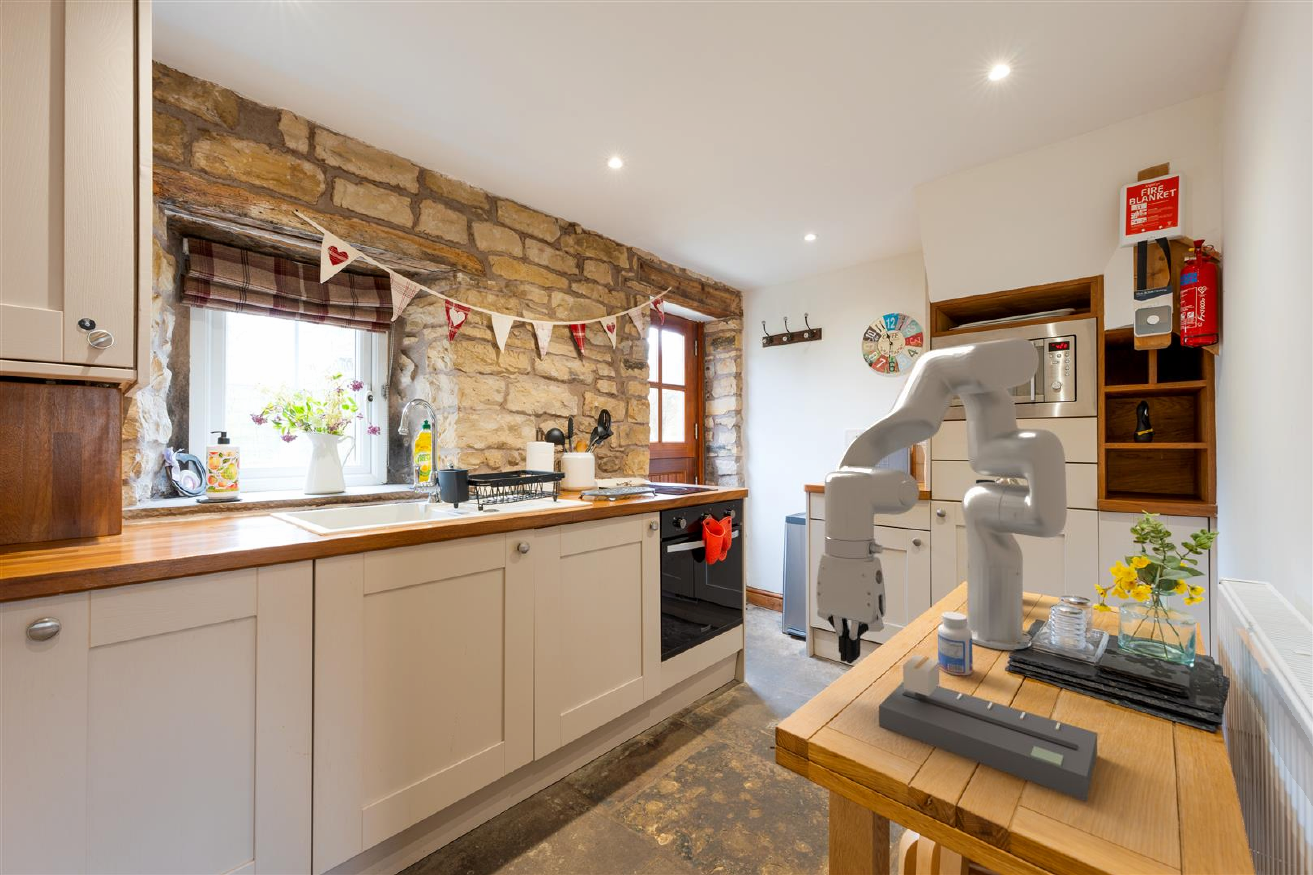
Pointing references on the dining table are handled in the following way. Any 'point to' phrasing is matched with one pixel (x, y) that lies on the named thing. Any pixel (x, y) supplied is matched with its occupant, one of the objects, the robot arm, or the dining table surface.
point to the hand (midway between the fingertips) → (849, 659)
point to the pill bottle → (955, 644)
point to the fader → (921, 675)
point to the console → (996, 737)
